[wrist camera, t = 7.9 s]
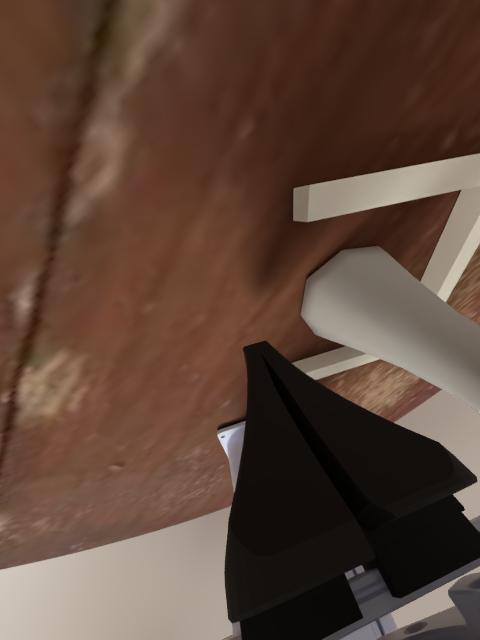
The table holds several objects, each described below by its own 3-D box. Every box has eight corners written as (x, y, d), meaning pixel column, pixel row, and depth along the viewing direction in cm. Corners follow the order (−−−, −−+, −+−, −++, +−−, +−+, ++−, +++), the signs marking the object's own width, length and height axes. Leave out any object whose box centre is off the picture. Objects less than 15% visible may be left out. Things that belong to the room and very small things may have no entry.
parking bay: (405, 336, 19) (420, 345, 18) (290, 373, 18) (298, 385, 16) (497, 150, 11) (537, 142, 9) (293, 188, 9) (309, 184, 8)
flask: (388, 226, 12) (856, 264, 3) (377, 309, 16) (581, 418, 8) (290, 271, 12) (524, 417, 4) (305, 343, 16) (429, 488, 8)
